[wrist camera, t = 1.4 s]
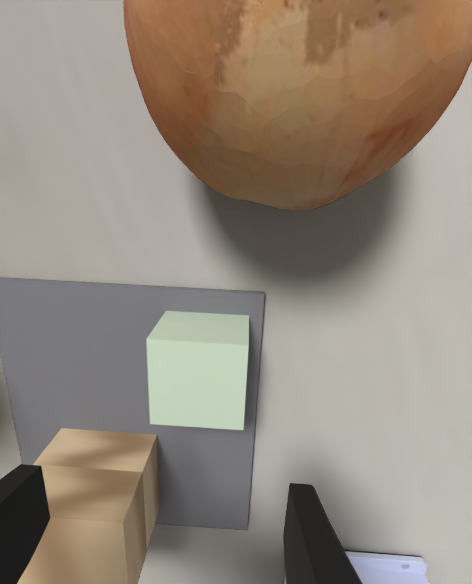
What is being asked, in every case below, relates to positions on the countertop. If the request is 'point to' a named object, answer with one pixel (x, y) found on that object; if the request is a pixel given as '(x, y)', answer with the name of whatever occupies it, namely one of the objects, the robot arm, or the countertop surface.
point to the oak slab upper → (90, 528)
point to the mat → (125, 384)
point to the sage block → (198, 370)
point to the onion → (296, 88)
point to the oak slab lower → (110, 459)
